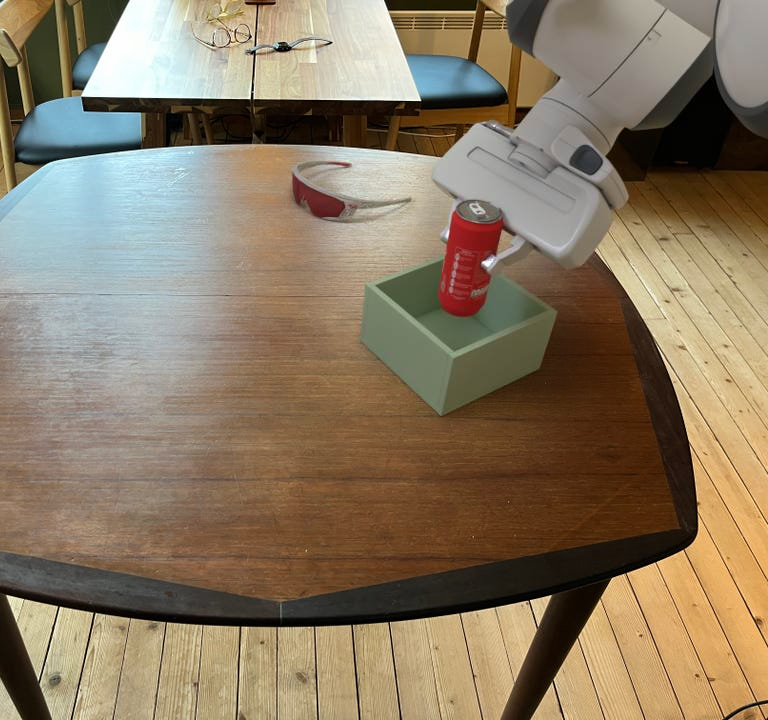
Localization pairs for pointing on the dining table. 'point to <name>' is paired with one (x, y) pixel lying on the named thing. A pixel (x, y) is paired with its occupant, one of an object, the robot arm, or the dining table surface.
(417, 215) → the dining table surface
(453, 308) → the beverage can
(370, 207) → the sunglasses
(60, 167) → the dining table surface
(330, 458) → the dining table surface
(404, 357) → the bin
